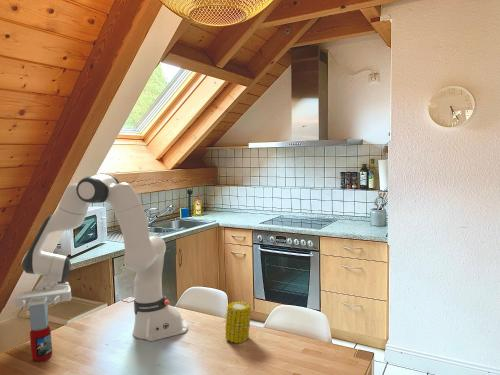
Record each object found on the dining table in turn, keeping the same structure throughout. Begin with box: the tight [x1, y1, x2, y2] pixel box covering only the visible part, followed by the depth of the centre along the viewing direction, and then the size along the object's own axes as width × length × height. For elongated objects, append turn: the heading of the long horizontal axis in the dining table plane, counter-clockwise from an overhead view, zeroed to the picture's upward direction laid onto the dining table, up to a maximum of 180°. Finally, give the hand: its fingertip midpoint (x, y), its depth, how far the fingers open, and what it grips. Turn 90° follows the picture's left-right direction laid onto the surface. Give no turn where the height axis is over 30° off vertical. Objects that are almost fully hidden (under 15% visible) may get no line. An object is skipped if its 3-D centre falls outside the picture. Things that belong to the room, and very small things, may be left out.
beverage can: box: [29, 324, 53, 362], centre depth 149 cm, size 7×7×12 cm
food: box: [224, 300, 252, 344], centre depth 159 cm, size 15×12×10 cm
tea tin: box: [28, 297, 50, 331], centre depth 148 cm, size 5×5×10 cm
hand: (39, 304), depth 150 cm, fingers open, 8 cm apart
